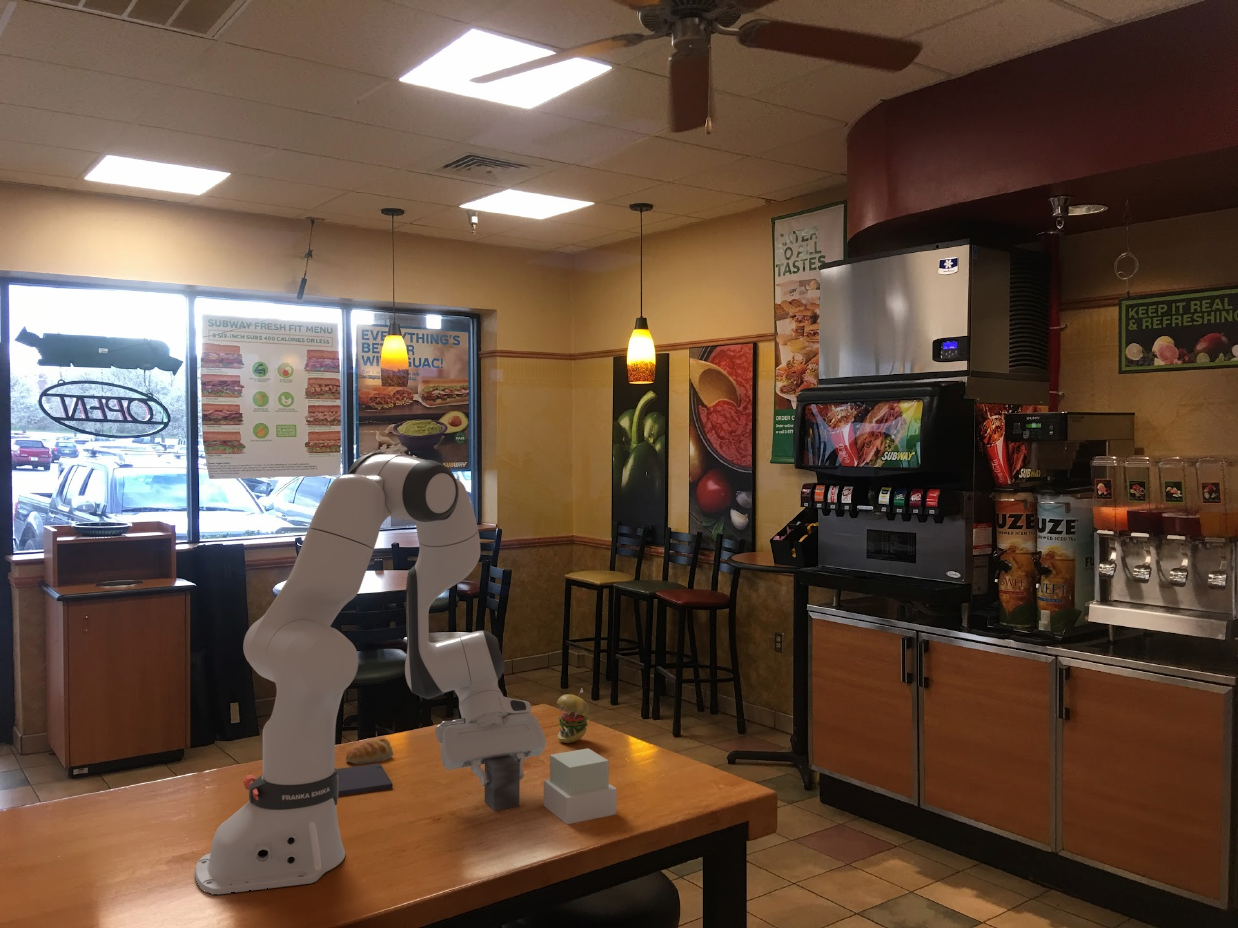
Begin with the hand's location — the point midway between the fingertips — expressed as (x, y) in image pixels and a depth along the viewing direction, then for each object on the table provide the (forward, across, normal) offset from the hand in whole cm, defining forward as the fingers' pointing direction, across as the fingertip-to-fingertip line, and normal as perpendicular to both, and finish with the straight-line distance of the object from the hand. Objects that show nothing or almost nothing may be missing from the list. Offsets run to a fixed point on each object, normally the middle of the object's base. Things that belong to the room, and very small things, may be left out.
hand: (503, 781), depth 182 cm
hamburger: (-17, +28, +24) cm, 40 cm away
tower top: (+6, +12, -6) cm, 14 cm away
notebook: (-14, -26, +21) cm, 36 cm away
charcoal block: (+3, 0, +4) cm, 4 cm away
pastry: (-23, -15, +30) cm, 40 cm away
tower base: (+9, +12, -3) cm, 15 cm away
